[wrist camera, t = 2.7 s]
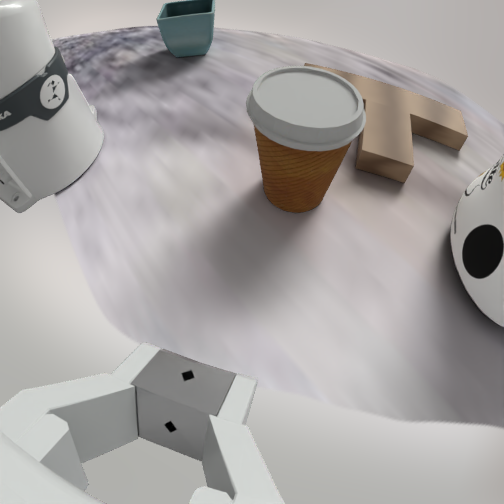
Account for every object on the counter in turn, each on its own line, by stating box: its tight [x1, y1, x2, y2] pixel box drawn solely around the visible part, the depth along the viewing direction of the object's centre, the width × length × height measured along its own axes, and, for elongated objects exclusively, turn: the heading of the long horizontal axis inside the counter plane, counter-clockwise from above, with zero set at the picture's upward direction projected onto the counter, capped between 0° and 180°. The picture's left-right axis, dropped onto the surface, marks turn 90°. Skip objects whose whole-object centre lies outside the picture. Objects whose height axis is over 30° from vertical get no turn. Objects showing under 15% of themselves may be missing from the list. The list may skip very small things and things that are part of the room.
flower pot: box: [157, 0, 215, 57], centre depth 43 cm, size 9×9×9 cm
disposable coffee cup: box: [246, 66, 366, 213], centre depth 28 cm, size 10×10×12 cm
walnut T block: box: [304, 63, 468, 183], centre depth 36 cm, size 24×16×3 cm, turn 73°
